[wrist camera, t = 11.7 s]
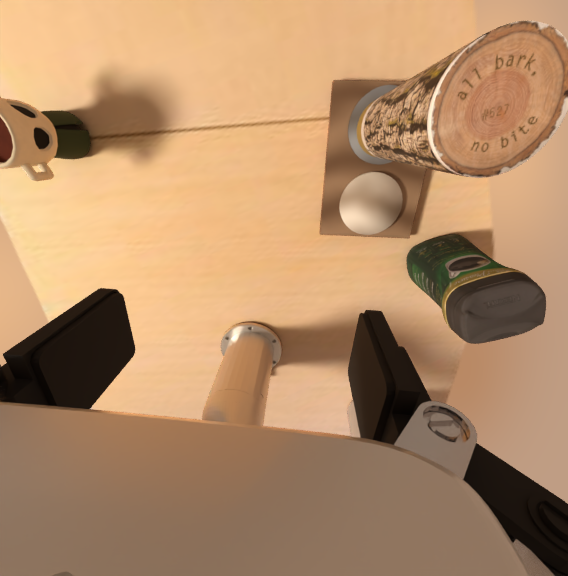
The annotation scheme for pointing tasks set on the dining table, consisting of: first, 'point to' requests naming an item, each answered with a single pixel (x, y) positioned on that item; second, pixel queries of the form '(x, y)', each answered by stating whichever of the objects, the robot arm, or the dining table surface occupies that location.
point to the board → (364, 173)
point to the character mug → (38, 138)
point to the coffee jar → (475, 290)
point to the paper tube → (475, 105)
